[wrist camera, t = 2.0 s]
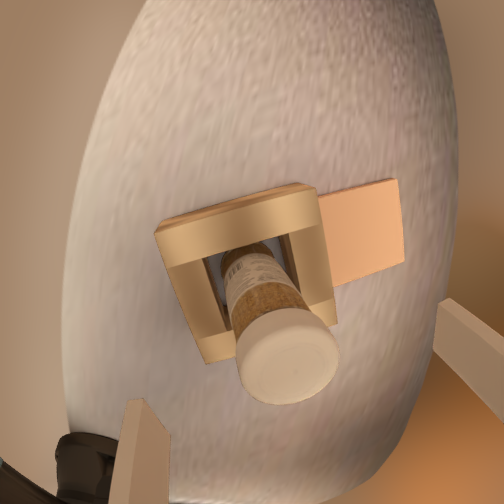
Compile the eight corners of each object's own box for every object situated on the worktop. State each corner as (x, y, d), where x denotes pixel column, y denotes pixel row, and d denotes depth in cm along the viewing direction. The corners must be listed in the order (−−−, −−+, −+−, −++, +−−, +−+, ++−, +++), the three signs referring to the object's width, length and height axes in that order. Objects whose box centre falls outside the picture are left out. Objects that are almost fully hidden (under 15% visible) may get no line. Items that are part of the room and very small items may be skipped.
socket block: (204, 336, 26) (205, 364, 22) (161, 221, 22) (153, 233, 19) (320, 301, 27) (337, 323, 23) (297, 182, 23) (315, 187, 19)
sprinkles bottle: (247, 300, 25) (286, 420, 13) (208, 266, 24) (217, 380, 11) (286, 263, 25) (360, 362, 12) (248, 226, 24) (301, 308, 11)
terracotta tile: (328, 284, 26) (331, 287, 26) (312, 197, 24) (316, 199, 23) (399, 258, 27) (404, 261, 26) (392, 178, 24) (397, 179, 23)
